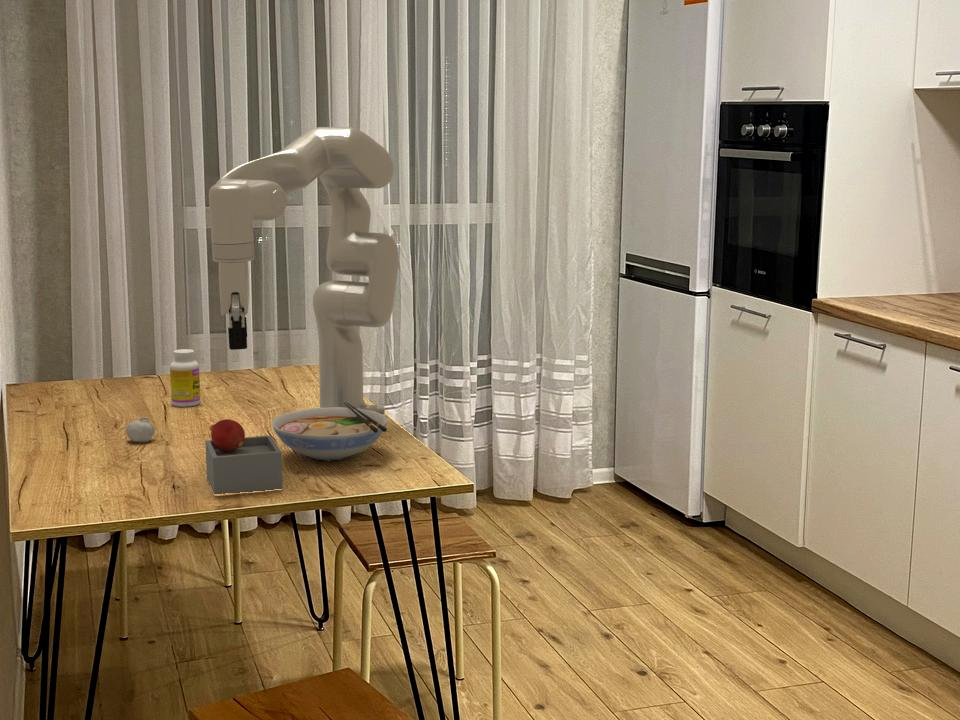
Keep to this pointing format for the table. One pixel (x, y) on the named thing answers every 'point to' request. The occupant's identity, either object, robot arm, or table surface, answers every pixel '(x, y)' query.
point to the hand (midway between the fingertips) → (238, 343)
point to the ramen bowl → (330, 431)
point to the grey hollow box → (245, 466)
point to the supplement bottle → (184, 379)
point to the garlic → (140, 430)
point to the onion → (227, 435)
